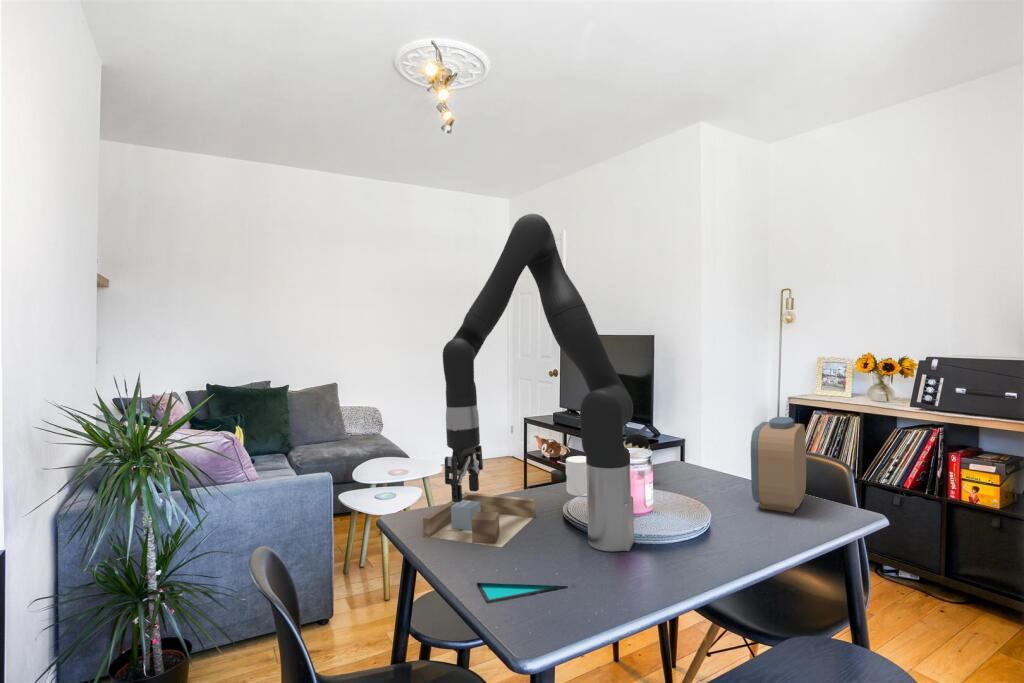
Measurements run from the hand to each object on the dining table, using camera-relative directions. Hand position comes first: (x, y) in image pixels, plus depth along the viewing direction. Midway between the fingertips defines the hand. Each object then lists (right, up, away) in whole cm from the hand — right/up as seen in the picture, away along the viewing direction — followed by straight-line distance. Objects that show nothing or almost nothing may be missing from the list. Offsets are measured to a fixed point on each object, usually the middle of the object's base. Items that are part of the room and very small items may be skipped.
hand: (465, 496), depth 121 cm
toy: (+47, -7, +34) cm, 59 cm away
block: (0, -7, +1) cm, 7 cm away
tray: (+4, -8, +2) cm, 9 cm away
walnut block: (+5, -7, -7) cm, 11 cm away
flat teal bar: (+12, -9, -26) cm, 30 cm away
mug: (+31, -8, +28) cm, 42 cm away
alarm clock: (+79, -6, +14) cm, 80 cm away
